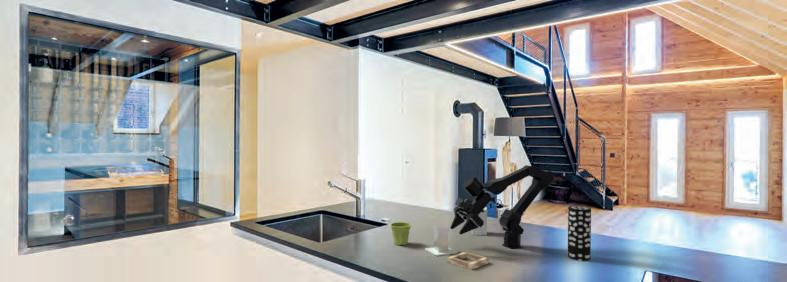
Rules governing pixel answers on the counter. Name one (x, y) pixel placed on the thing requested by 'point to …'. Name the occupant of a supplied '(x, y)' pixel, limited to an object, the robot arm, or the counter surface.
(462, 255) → the oak socket frame
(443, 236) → the steel cap block
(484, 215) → the supplement box
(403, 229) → the plant pot
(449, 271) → the counter surface
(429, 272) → the counter surface
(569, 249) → the white-spotted black cylinder
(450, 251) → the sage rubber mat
